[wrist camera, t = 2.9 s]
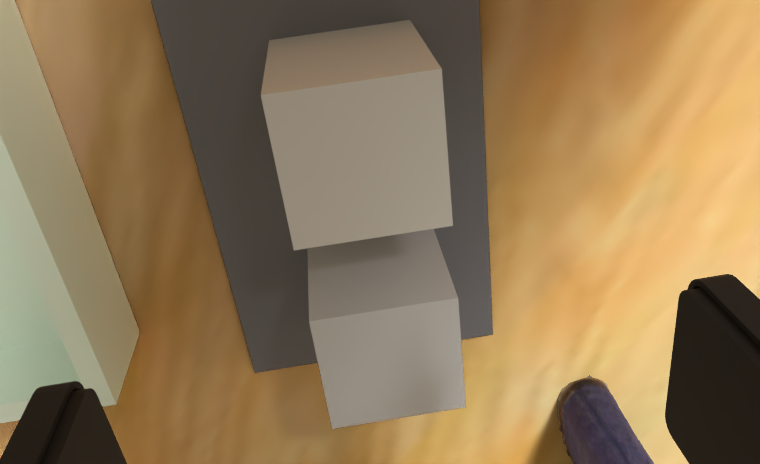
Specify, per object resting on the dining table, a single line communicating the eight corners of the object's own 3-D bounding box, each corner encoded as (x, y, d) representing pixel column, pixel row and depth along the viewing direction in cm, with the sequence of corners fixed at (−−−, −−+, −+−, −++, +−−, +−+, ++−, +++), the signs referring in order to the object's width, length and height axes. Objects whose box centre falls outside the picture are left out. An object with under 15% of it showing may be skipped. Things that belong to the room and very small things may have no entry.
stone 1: (409, 19, 21) (441, 68, 17) (421, 149, 24) (453, 225, 19) (269, 40, 21) (260, 95, 16) (294, 169, 24) (294, 250, 19)
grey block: (427, 211, 25) (458, 297, 20) (436, 309, 27) (465, 407, 22) (307, 230, 25) (309, 321, 20) (326, 327, 27) (331, 429, 22)
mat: (475, -51, 21) (477, -49, 21) (491, 329, 28) (492, 334, 28) (152, -5, 21) (150, -3, 20) (255, 367, 28) (254, 372, 28)
